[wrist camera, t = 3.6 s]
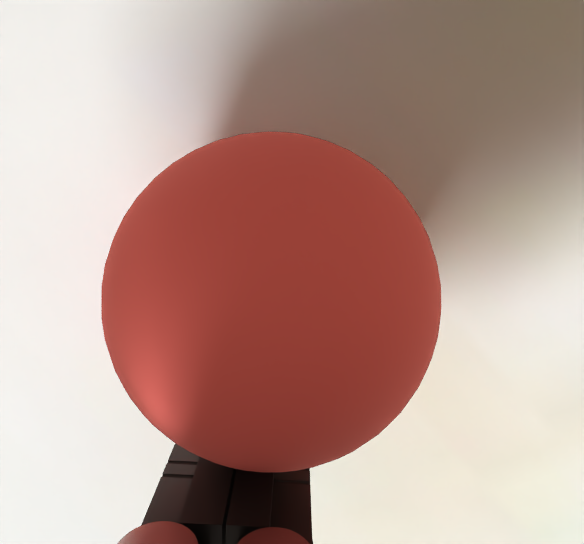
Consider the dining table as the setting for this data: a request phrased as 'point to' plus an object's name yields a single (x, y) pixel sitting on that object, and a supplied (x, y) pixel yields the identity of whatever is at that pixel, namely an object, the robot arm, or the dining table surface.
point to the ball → (271, 302)
